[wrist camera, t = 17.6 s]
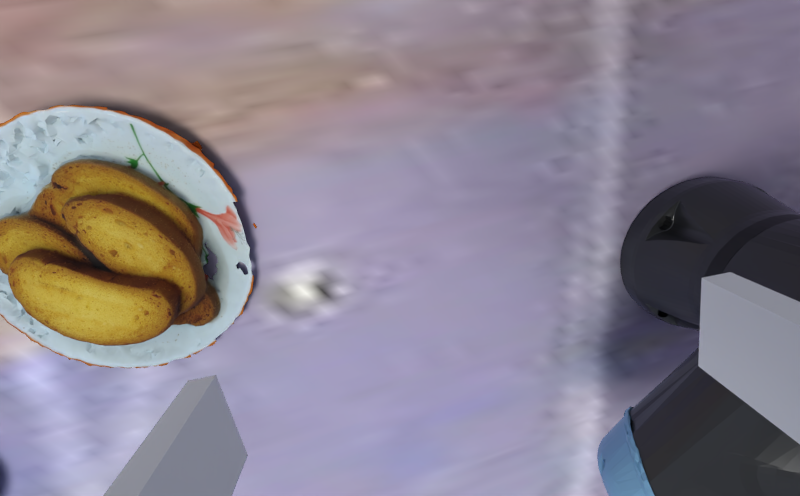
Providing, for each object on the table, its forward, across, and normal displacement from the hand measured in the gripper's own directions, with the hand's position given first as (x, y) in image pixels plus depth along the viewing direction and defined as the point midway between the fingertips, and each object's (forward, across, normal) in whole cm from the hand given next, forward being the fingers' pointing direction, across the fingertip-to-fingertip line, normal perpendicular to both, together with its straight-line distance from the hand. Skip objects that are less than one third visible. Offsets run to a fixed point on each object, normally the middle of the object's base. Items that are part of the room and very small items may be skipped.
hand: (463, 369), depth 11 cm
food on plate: (+29, -27, 0) cm, 40 cm away
